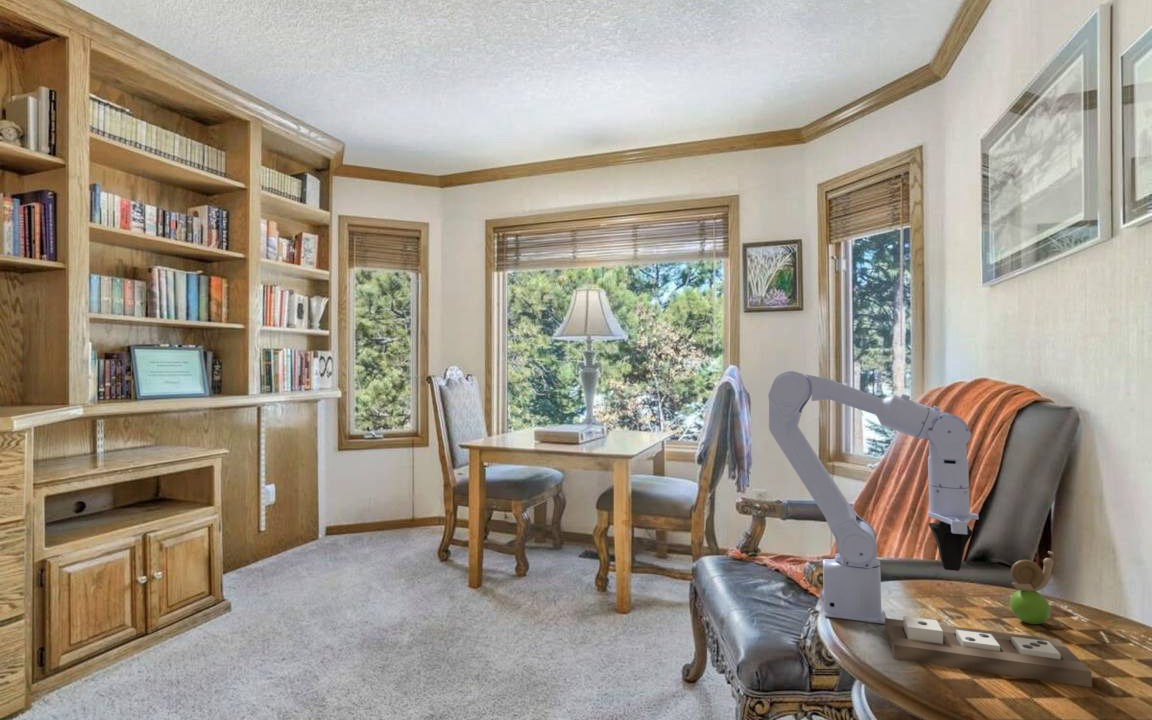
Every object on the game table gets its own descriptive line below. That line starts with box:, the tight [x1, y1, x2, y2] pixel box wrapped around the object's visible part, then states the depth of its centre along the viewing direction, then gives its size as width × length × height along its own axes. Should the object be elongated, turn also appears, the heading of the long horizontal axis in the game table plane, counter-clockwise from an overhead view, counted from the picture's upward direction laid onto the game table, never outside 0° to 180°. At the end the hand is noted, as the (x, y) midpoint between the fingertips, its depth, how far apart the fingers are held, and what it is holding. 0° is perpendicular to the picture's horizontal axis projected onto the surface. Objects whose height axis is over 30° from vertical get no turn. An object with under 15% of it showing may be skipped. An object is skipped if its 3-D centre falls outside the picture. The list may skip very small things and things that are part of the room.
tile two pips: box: [956, 630, 1000, 651], centre depth 88 cm, size 4×4×3 cm
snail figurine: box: [1009, 550, 1055, 625], centre depth 100 cm, size 5×6×12 cm
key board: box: [884, 617, 1093, 688], centre depth 88 cm, size 23×11×2 cm, turn 69°
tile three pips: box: [1011, 637, 1061, 659], centre depth 85 cm, size 4×4×3 cm
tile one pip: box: [902, 616, 943, 644], centre depth 90 cm, size 4×4×3 cm
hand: (951, 569), depth 99 cm, fingers closed
